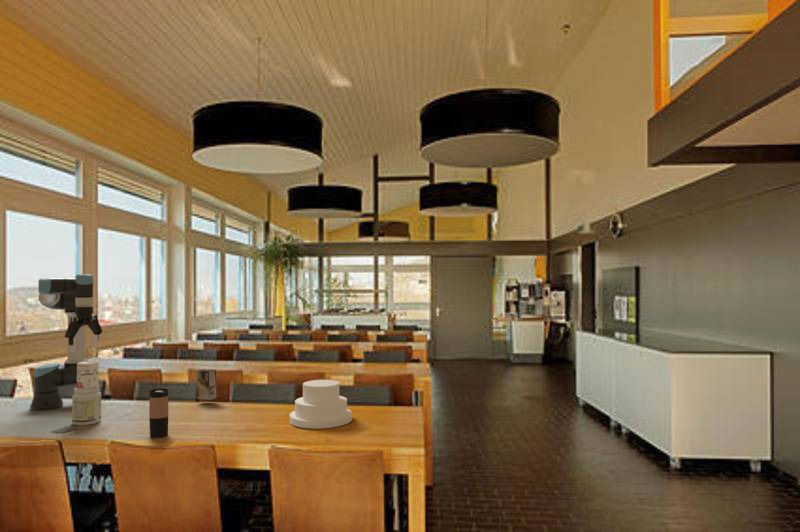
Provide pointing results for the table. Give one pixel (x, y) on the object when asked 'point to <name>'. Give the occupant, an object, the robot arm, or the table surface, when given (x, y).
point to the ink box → (87, 374)
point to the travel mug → (158, 413)
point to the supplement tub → (86, 406)
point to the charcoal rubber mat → (64, 430)
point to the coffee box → (206, 384)
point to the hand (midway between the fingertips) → (84, 349)
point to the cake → (320, 406)
